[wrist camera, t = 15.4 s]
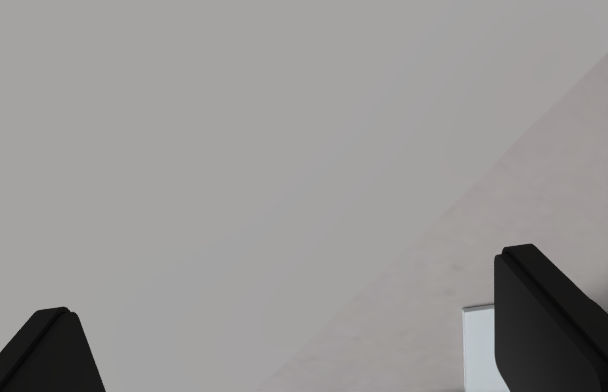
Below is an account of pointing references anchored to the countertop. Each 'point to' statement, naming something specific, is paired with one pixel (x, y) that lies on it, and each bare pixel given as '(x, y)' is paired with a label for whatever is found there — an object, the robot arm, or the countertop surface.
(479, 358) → the pale blue mat
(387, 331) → the countertop surface
